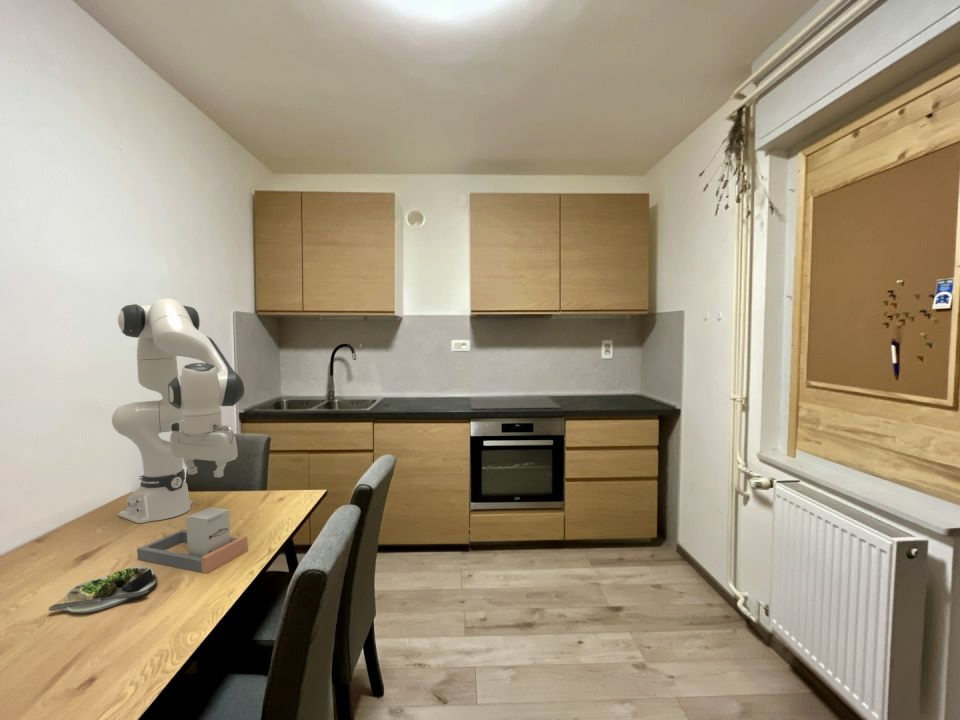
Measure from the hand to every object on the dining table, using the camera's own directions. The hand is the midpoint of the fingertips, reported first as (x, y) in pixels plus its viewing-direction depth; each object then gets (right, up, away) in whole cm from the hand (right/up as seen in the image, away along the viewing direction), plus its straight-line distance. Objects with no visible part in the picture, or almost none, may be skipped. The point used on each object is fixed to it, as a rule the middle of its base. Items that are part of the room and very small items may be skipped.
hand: (205, 475), depth 123 cm
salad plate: (-12, -24, -15) cm, 31 cm away
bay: (-5, -23, +3) cm, 24 cm away
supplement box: (+1, -23, +1) cm, 23 cm away
